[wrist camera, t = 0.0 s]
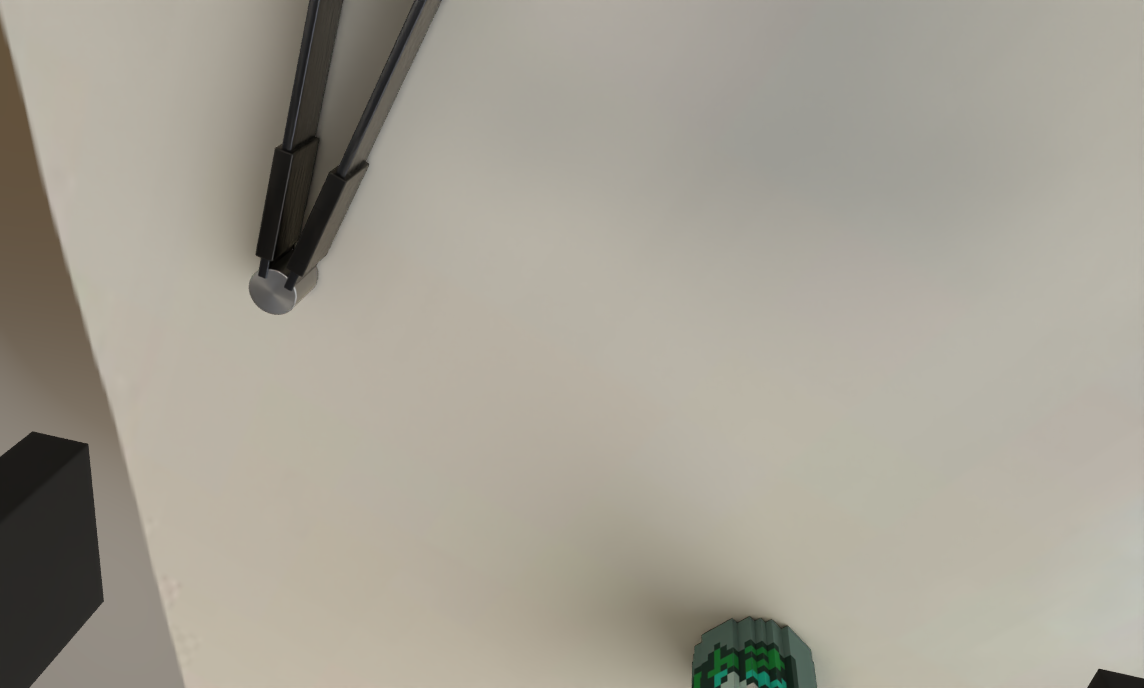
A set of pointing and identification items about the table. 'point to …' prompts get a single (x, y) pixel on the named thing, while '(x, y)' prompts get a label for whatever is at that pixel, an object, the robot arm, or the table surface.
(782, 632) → the can
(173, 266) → the table surface
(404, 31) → the tongs
